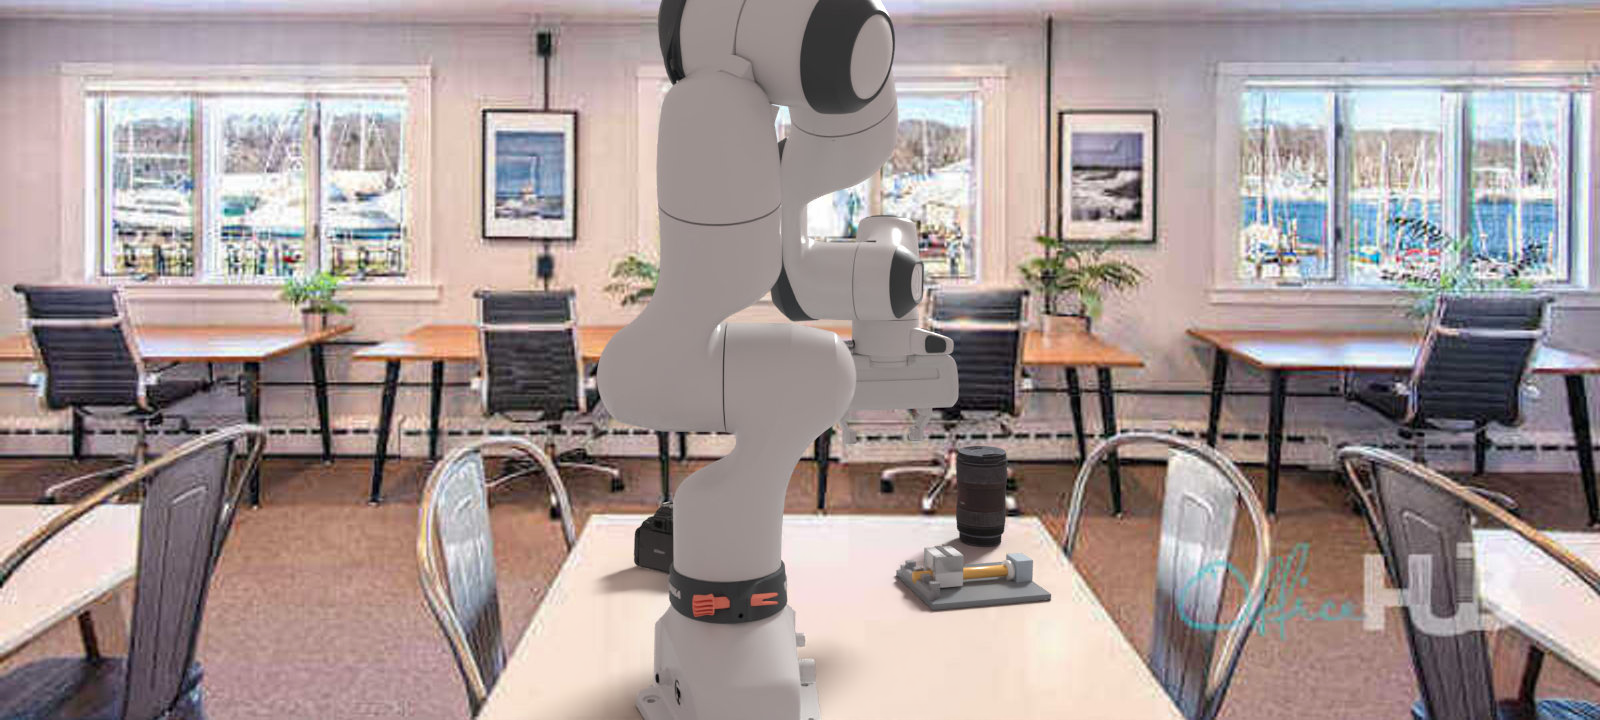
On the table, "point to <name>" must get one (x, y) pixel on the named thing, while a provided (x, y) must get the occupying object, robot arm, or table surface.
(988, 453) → the camera lens
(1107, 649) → the table surface
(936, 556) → the sleeve
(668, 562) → the camera
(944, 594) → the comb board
